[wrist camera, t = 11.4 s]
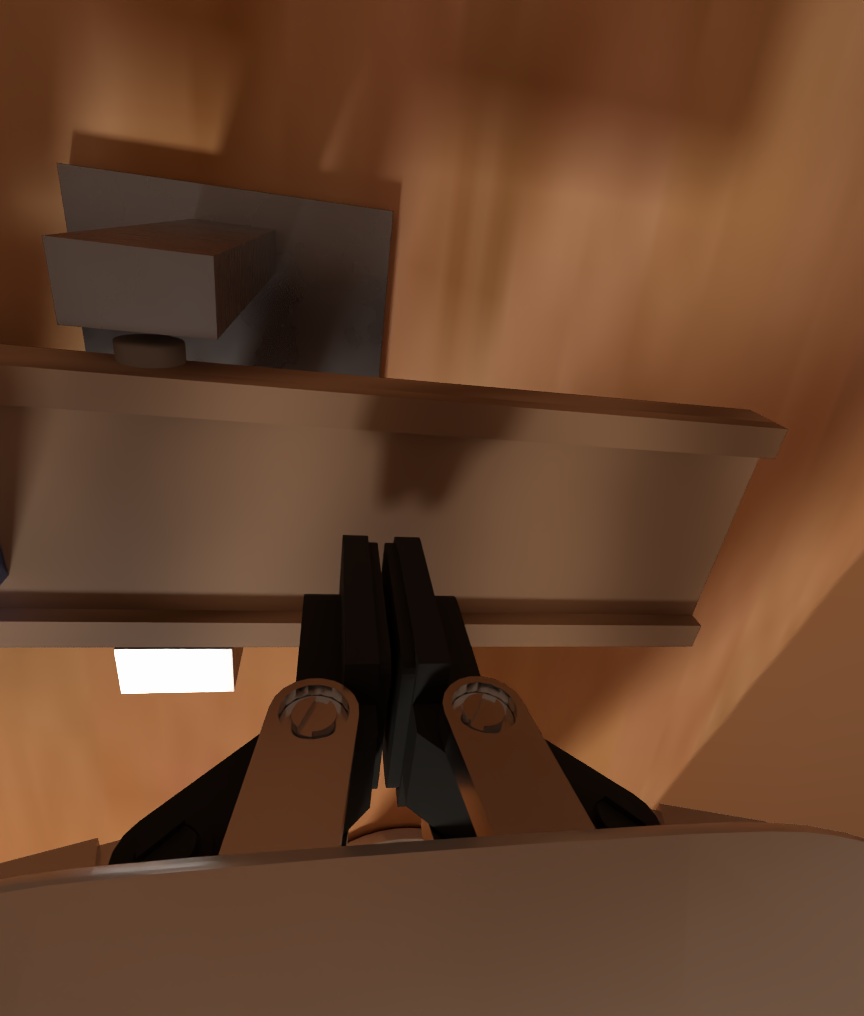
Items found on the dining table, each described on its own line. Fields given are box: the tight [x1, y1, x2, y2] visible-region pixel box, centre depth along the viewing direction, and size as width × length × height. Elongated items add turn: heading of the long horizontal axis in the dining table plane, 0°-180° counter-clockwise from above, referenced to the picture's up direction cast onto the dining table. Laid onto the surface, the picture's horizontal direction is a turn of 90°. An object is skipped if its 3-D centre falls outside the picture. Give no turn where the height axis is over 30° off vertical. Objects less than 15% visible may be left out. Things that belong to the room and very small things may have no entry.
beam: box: [0, 334, 788, 648], centre depth 15 cm, size 30×8×6 cm, turn 83°
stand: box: [42, 163, 393, 693], centre depth 18 cm, size 20×14×14 cm
